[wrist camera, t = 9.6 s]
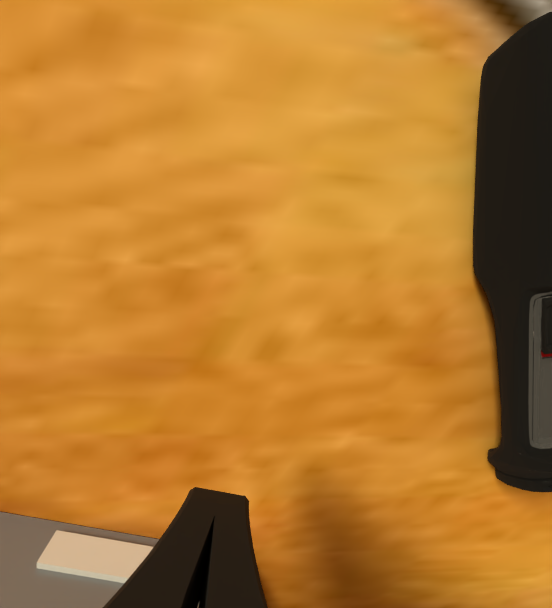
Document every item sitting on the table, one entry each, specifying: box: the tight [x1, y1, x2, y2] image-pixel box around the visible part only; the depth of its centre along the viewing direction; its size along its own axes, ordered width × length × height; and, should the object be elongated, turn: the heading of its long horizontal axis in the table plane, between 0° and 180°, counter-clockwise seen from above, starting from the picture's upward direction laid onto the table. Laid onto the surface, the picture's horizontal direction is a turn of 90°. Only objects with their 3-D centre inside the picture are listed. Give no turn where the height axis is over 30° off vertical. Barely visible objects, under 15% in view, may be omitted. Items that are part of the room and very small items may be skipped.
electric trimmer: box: [473, 12, 552, 492], centre depth 15 cm, size 4×16×3 cm, turn 12°
